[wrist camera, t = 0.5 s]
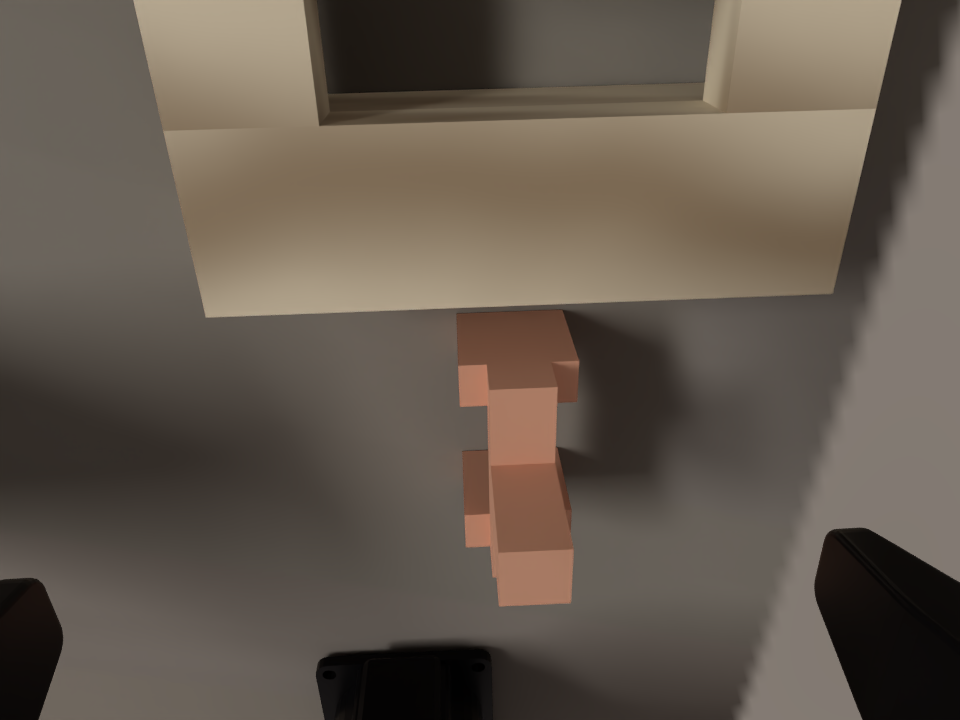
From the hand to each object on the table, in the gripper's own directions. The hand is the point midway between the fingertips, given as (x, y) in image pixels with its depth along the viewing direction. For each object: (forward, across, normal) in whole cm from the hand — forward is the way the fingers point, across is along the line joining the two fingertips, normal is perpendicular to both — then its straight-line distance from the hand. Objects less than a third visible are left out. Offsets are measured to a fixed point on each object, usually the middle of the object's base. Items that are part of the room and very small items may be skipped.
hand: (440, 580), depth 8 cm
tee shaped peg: (+13, -2, +5) cm, 14 cm away
